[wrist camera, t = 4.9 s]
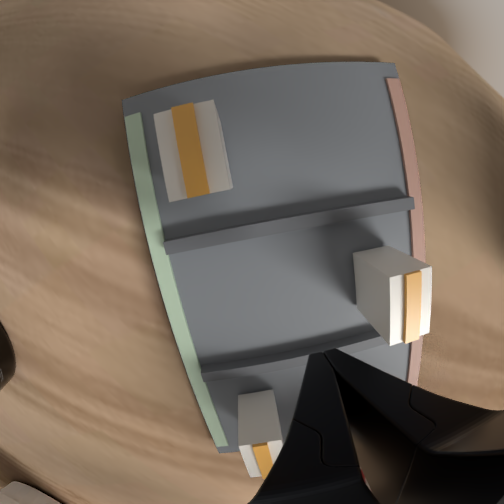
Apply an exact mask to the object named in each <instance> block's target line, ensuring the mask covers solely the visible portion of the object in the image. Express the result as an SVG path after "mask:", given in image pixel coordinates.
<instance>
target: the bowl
mask: <svg viewBox="0 0 504 504" xmlns="http://www.w3.org/2000/svg"><path fill="white" fill-rule="evenodd" d="M0 504H61V503H59V502H58V501H56V500H54V499H53V498H51V497H49V496H47V495H46V494H44V493H42V492H40V491H38V490H36V489H34V488H32V487H30V486H28V485H26V484H23V483H20V482H16V481H13V482H11V483H9V484H8V485H7V486H5V487H4V488H2V489H1V490H0Z"/></svg>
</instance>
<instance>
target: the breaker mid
mask: <svg viewBox="0 0 504 504" xmlns="http://www.w3.org/2000/svg"><path fill="white" fill-rule="evenodd" d="M353 262H354V274H355V286H356V301H357V309H358V310H359V311H360V313H361V314H362V315H363V316H364V317H365V318H366V319H367V321H368V322H369V323H370V324H371V325H372V326H373V327H374V329H375V330H376V331H377V332H378V333H379V334H380V335H381V337H382V338H383V339H384V340H385V341H386V342H387V344H388V345H389V346H392V345H395V344H398V343H401V342H404V343H405V344H407V343H410V342H413V341H415V340H418V339H419V336H421V335H424V334H427V333H429V328H430V314H431V294H432V266H430V265H428V264H426V263H424V262H422V261H420V260H418V259H416V258H414V257H412V256H410V255H407V254H405V253H403V252H401V251H399V250H397V249H395V248H393V247H391V246H383V247H378V248H374V249H369V250H364V251H359V252H354V253H353Z"/></svg>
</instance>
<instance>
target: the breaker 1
mask: <svg viewBox="0 0 504 504" xmlns="http://www.w3.org/2000/svg"><path fill="white" fill-rule="evenodd" d="M153 115H154V122H155V128H156V134H157V140H158V146H159V152H160V158H161V163H162V169H163V174H164V179H165V184H166V189H167V194H168V199H169V202H173V201H178V200H182V199H187V198H192V197H196V196H201V195H206V194H210V193H215V192H220V191H225V190H230V189H232V188H233V184H232V179H231V174H230V168H229V163H228V158H227V153H226V147H225V142H224V137H223V132H222V126H221V122H220V119H219V116H218V112H217V109H216V106H215V103H214V100H209V101H204V102H199V103H195V104H193V102H192V103H187V104H183V105H179V106H175V107H171V109H170V110H167V111H163V112H159V113H156V114H153Z"/></svg>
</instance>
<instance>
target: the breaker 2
mask: <svg viewBox="0 0 504 504" xmlns="http://www.w3.org/2000/svg"><path fill="white" fill-rule="evenodd" d="M238 446H239V449H240V452H241V454H242V457H243V460H244V462H245V465H246V467H247V470H248V473H249V475H250V478H251V477H259V476H262V478H263V479H265V478H266V477H267V475H268V473H269V471H270V470H271V468H272V466H273V464H274V462H275V461H276V459H277V457H278V455H279V453H280V451H281V449H282V446H283V438H282V432H281V426H280V421H279V416H278V411H277V406H276V401H275V396H274V392H273V389H272V390H266V391H261V392H255V393H248V394H242V395H238Z"/></svg>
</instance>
